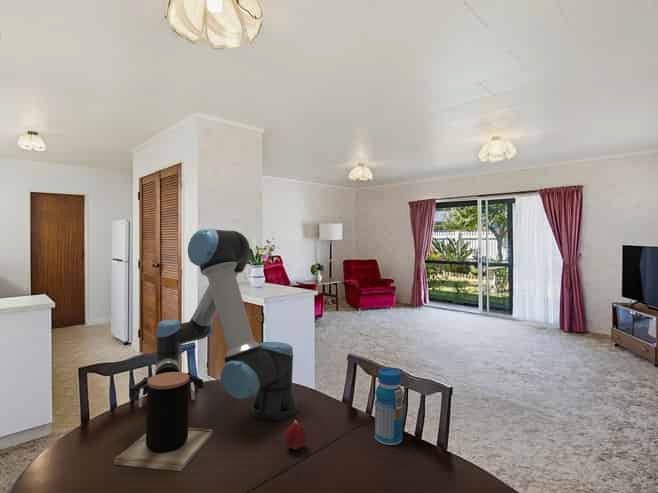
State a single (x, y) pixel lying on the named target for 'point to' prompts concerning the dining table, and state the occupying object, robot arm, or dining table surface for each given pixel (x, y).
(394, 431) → the beverage bottle
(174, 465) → the board
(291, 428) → the onion
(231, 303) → the robot arm
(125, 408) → the dining table surface
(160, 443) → the coffee jar
